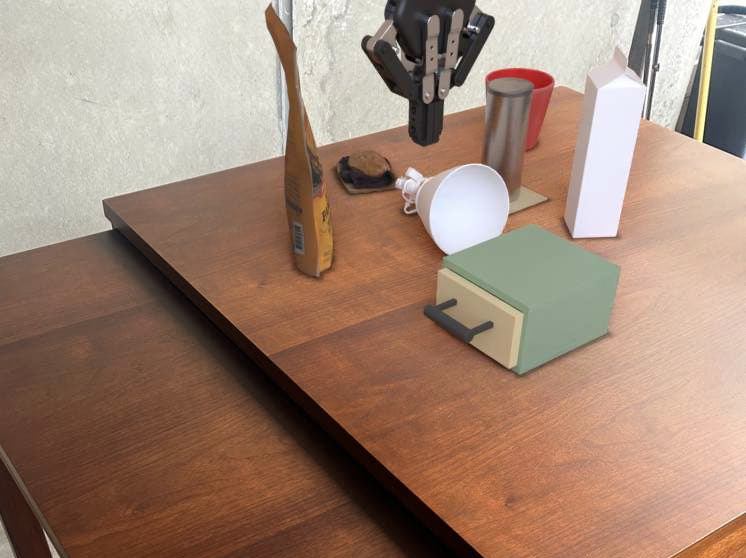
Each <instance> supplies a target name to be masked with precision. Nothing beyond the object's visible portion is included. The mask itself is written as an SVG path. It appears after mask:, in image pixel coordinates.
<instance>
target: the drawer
mask: <svg viewBox="0 0 746 558" xmlns="http://www.w3.org/2000/svg"><path fill="white" fill-rule="evenodd" d="M435 298H436V299H435V305H433V304H432V303H428V304H426V305H425V306H424V307H423V311H422V314H423V316H425V317H426V318H428V319H429V320H430V321H432V322H434V323H435V324H437V325H438V326H440V327H441V328H443V329H444V330H446V331H447V332H449V333H450V334H452V335H453V336H455V337H456V338H458V339H459V340H461V341H462V342H464V343H466V344H470V345H471V346H473V347H475V348H476V349H478V350H479V351H481V352H482V353H483V354H485V355H486V356H488V357H490V359H493V360H494V361H496V362H498V363H499V364H500V365H502V366H504V367H505V368H507V369H508V370H511V369H510V368H512V367H514V366H516V365H517V360H518V352H519V345H520V338H521V331H522V324H523V316H524V313H522V311H520V310H519V309H517V308H515V307H514V306H512V305H510V304H509V303H507V302H505V301H503V300H502V299H500V298H498V297H497V296H495V295H493V294H492V293H490V292H488V291H487V290H485V289H483V288H481V287H480V286H478V285H476V284H475V283H473V282H471V281H470V280H468V279H466V278H465V277H463V276H461V275H460V276H459V275H458V274H456V273H454V272H453V271H451V270H449V269H448V268H443V267H442V268H441V269H438V270H437V283H436V297H435Z"/></svg>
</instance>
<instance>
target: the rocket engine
mask: <svg viewBox="0 0 746 558" xmlns="http://www.w3.org/2000/svg"><path fill="white" fill-rule="evenodd" d="M404 175H405V176H403V175H401V176H400V177H398V178H397V179H396V180H395V182H396V185H397V187H396V189H399V190H401V195H402V196H401V197H402V198H403V199H404V200H405V202H404V207H403V211H404V213H405V214H406V215H410V214H414V213H417V215H418V217H419V218H420V220H421V221H422V224H423V227H424V229H425V230H426V232H427V234H428V235H429V237H430V238H431V239H432V241H433V242H434V244H435V245H436V246H437V247H438V248H439V249H440V250H441V252H443V253H444V254H446V255H447V256H448V255H451V254H453V253H456V252H459V251H461V250H464V249H466V248H469V247H472V246H474V245H477V244H479V243H482V242H485V241H487V240H490V239H492V238H495V237H497V236H500V235H502V233H503V231H504V229H505V227H506V224H507V222H508V218H509V214H508V213H509V196H508V190H507V188H506V185H505V183H504V181H503V179H502V178H501V176H500V175H499V174H498V173H497V172H496V171H495V170H494V169H492V168H490V167H489V166H486V165H483V164H481V163H468V164H462V165H457V166H454V167H451V168H449V169H447V170H444V171H442V172H440V173H437V174H436V175H434V176H430V177H424V176H423V174H422V173H420V172H419V171H417V170H416V169H415V168H413V167H411V166H409V167H408V169H407V171H406V172H405V173H404ZM405 194H407V195H409V198H407V197H406V196H405ZM411 204H415V208H414V209H412V210H410V211H408V210H407V209H408V207H409V208H410V207H411Z"/></svg>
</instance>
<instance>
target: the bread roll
mask: <svg viewBox="0 0 746 558" xmlns="http://www.w3.org/2000/svg"><path fill="white" fill-rule="evenodd" d="M335 167H336V168H335V169H336V171H337V174H338V177H339V180H340V181H341V183H342V184H343V185H342V186H343V187H344V188H345V189H346V191H347V192H348V193H349V194H351V195H352V194H356V195H357V194H363V193H366V194H367V193H371V192H382V191H386V190H387V191H388V190H395V189H397V188H396V187H397V185H396V179H395V175H394V173H393V172H392V165H391V163H390V160H389V159H388V158H386V157H385V156H383V155H382V154H381V153H380V152H378V151H376V150H373V149H364V150H357V151H354V152H352V154H350V155H345V156H342V157H341V158H340V160H339V161H338V162H336V165H335Z"/></svg>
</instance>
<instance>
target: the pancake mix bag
mask: <svg viewBox="0 0 746 558" xmlns="http://www.w3.org/2000/svg"><path fill="white" fill-rule="evenodd" d="M272 2H273V1H270V3H269V4H268V6H267V7H266V8H265V10H264V17H265V25H266V29H267V31H268V32H269V34H270V37H271V39H272V41H273V45H274V47H275V49H276V52H277V55H278V58H279V61H280V64H281V66H282V68H283V72H284V79H285V84H286V89H287V91H286V92H287V99H288V118H287V130H286V141H285V149H284V150H285V151H284V178H283V191H284V203H285V213H286V220H287V226H288V233H289V239H290V242H291V247H292V253H293V256H294V259H295V264H296V269H297V270H299V271H300V272H302V273H303V274H306V275H308V276H312V277H316V278H320V275H321V272H324V271H327V270H329V269H331V265H332V261H333V255H334V234H333V219H332V212H331V202H330V196H329V189H328V185H327V181H326V177H325V173H324V167H323V165H322V161H321V157H320V153H319V150H318V147H317V143H316V140H315V135H314V133H313V129H312V126H311V125H312V124H311V122H310V118H309V115H308V112H307V108H306V106H305V102H304V99H303V96H302V88H301V79H300V78H301V77H300V70H299V69H300V68H299V65H298V60H297V59H298V57H297V53H298V47H297V46H296V44H295V42H294V40H293V38H292V36H291V34H290V31H289V30H288V28H287V26H286V24H285V22H284V21H283V20H282V19H281V18H280V16H279V15H278V14H277V12H276V10H275V8H274V7H273V3H272Z"/></svg>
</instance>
